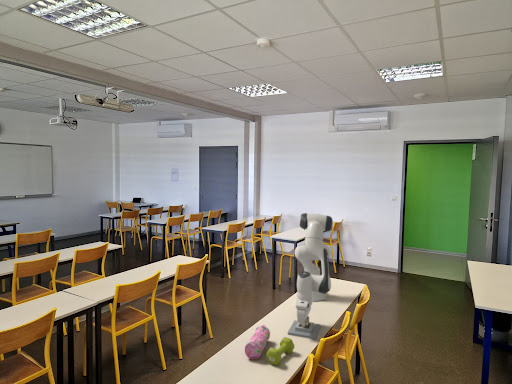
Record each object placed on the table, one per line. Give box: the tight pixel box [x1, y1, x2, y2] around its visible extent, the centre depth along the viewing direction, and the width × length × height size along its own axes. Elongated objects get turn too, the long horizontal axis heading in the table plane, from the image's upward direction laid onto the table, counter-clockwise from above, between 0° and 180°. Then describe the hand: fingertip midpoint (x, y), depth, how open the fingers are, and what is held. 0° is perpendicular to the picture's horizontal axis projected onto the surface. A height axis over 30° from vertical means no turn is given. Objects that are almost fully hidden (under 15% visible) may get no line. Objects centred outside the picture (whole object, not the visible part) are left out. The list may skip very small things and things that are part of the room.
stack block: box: [300, 315, 310, 328], centre depth 188 cm, size 4×4×6 cm
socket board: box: [287, 320, 322, 340], centre depth 189 cm, size 16×16×3 cm
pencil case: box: [244, 324, 271, 360], centre depth 169 cm, size 21×9×9 cm, turn 163°
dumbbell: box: [265, 336, 295, 367], centre depth 161 cm, size 16×8×7 cm, turn 144°
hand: (304, 323), depth 189 cm, fingers open, 5 cm apart
